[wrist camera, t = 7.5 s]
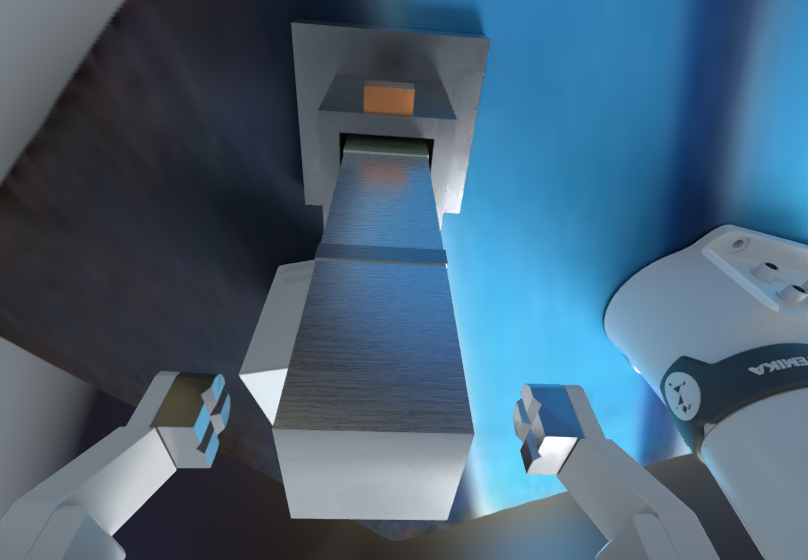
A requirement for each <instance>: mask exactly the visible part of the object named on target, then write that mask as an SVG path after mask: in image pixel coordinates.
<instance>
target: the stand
mask: <svg viewBox="0 0 808 560" xmlns="http://www.w3.org/2000/svg"><path fill="white" fill-rule="evenodd" d="M291 29H292V41H293V54H294V66H295V79H296V91H297V104H298V116H299V129H300V141H301V154H302V166H303V179H304V191H305V204H306V205H322V206H323V220H324V228H325V224H326V221H327V217H328V213H329V209H330V205H331V201H332V198H333V194H334V190H335V186H336V182H337V178H338V175H339V171H340V167H341V163H342V159H343V155H344V146H345V143H346V139H348V136H349V133H355V134H370V135H384V136H399V137H414V138H425V144H427V148H428V154H429V158H428V161H429V167H430V173H431V179H432V185H433V191H434V197H435V203H436V209H437V215H438V221H439V227H440V232H441V225H442V219H443V212H444V213H460V207H461V202H462V196H463V190H464V185H465V179H466V173H467V167H468V162H469V156H470V150H471V145H472V139H473V133H474V128H475V122H476V116H477V111H478V105H479V99H480V94H481V88H482V82H483V77H484V71H485V65H486V60H487V54H488V48H489V43H490V39H489V38H488V37H487V36H486V35H485V34H473V33H461V32H449V31H437V30H426V29H414V28H402V27H390V26H378V25H366V24H354V23H342V22H330V21H318V20H307V19H296V20H294V21H293V22H291Z"/></svg>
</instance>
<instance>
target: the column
mask: <svg viewBox="0 0 808 560" xmlns="http://www.w3.org/2000/svg"><path fill="white" fill-rule="evenodd" d="M428 158H429V154H428V148H427V144H425V138H414V137H399V136H384V135H370V134H355V133H349V136H348V139H346V143H345V146H344V155H343V159H342V163H341V167H340V171H339V175H338V178H337V182H336V186H335V190H334V194H333V198H332V201H331V205H330V209H329V213H328V217H327V221H326V224H325V228H324V232H323V236H322V240H321V243H319V244H318V247H317V251H316V255H315V267H314V270H313V274H312V278H311V282H310V286H309V290H308V294H307V297H306V301H305V305H304V309H303V313H302V317H301V320H300V324H299V328H298V332H297V336H296V340H295V343H294V347H293V351H292V355H291V359H290V363H289V366H288V370H287V374H286V378H285V382H284V386H283V389H282V393H281V397H280V401H279V405H278V409H277V413H276V416H275V420H274V424H273V428H272V431H273V435H274V440H275V445H276V449H277V454H278V459H279V463H280V468H281V473H282V477H283V482H284V486H285V491H286V496H287V500H288V505H289V509H290V514H291V518H318V519H397V520H447V519H448V515H449V512H450V509H451V506H452V503H453V500H454V497H455V494H456V490H457V487H458V484H459V481H460V478H461V475H462V472H463V468H464V465H465V462H466V459H467V456H468V453H469V450H470V447H471V443H472V440H473V437H474V429H473V423H472V417H471V411H470V405H469V399H468V393H467V387H466V381H465V375H464V369H463V363H462V357H461V351H460V346H459V340H458V334H457V328H456V322H455V316H454V310H453V304H452V298H451V292H450V286H449V280H448V274H447V266H448V262H447V257H446V251H445V250H443V245H442V239H441V233H440V227H439V221H438V215H437V209H436V203H435V197H434V191H433V185H432V179H431V173H430V167H429V161H428Z"/></svg>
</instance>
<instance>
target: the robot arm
mask: <svg viewBox="0 0 808 560" xmlns="http://www.w3.org/2000/svg"><path fill="white" fill-rule="evenodd" d="M604 327H605V331H606V334H607V336H608V338H609V339H610V341H611V342H612V343H613V344H614V345H615V346H616V347H617V348H618V349H619V350H621V351H622V353H623V354H624V355H625V356H626V357H627V358H628V360H629V363H630V365H631V366H632V367H633V369H634V370H635V371H636V372H637V373H640V374H642V376H643V377H644V378H645V380H646V381H647V382H648V383H649V385H650V386H651V387H652V389H653V390H654V391H655V392H656V394H657V395H658V396H659V398H660V399H661V400H662V401H663V403H664V404H665V405H666V407H667V408H668V411H669V413H670V416H671V419H672V421H673V423H674V424H675V426H676V428H677V429H678V431H679V432H680V434H681V436H682V437H683V439H684V442H685V443H686V445H687V447H688V448H689V449H690V450H691V451H692V453H693V454H694V455H695V457H696V458H697V459H698V460H699V461H700V462H701V463H703V464H705V465H707V466H708V468H709V470H710V471H711V473H712V474H713V476H714V478H715V479H716V481H717V482H718V484H719V486H720V487H721V489H722V491H723V492H724V494H725V495H726V497H727V499H728V500H729V502H730V503H731V505H732V507H733V508H734V510H735V512H736V513H737V515H738V516H739V518H740V520H741V521H742V523H743V525H744V526H745V528H746V529H747V531H748V532H749V534H750V536H751V538H752V539H753V541H754V542H755V544H756V546H757V547H758V549H759V551H760V552H761V554H762V555H763V557H764V558H765V560H808V245H806V244H802V243H798V242H794V241H791V240H787V239H783V238H780V237H776V236H772V235H768V234H765V233H761V232H757V231H754V230H750V229H746V228H742V227H739V226H735V225H723V226H720V227H718V228H716V229H714V230H713V231H711V232H710V233H708V234H707V235H705V236H704V237H702V238H701V239H700V240H698V241H697V242H695V243H694V244H693V245H691V246H689V247H687V248H685V249H683V250H681V251H678V252H676V253H673V254H671V255H668V256H666V257H664V258H661V259H659V260H657V261H655V262H654V263H652V264H650V265H648V266H647V267H645V268H643V269H642V270H641V271H639V272H638V273H636V274H635V275H634V276H633V277H631V278H630V279H629V280H628V281H627V282H626V283H625V284H624V285H623V286H622V287H621V288H620V289H619V290H618V292H617V293H616V294H615V295H614V297H613V298H612V300H611V302H610V304H609V306H608V308H607V311H606V314H605V319H604ZM224 384H225V381H224V378H223V375H222V374H206V373H188V372H167V371H161V372H160V373H159V374H157V375H156V376H155V377H154V379H153V381H152V383H151V384H150V386H149V388H148V390H147V391H146V393H145V395H144V396H143V398H142V400H141V402H140V403H139V405H138V407H137V409H136V410H135V412H134V414H133V415H132V417H131V419H130V421H129V422H128V424H127V426H126V427H119V428H118V429H116V430H115V431H114V432H112V433H111V434H110V435H108V436H106V437H105V438H104V439H102V440H101V441H100V442H98V443H97V444H95V445H94V446H93V447H91V448H90V449H88V450H87V451H86V452H84V453H83V454H81V455H80V456H79V457H77V458H76V459H74V460H73V461H72V462H70V463H69V464H68V465H66V466H65V467H64V468H62V469H61V470H59V471H58V472H56V473H55V474H54V475H52V476H51V477H50V478H48V479H47V480H45V481H44V482H42V483H41V484H40V485H38V486H37V487H35V488H34V489H33V490H31V491H30V492H28V493H27V494H26V495H24V496H23V497H21V498H20V499H19V500H17V501H16V502H14V504H13V505H12V507H11V508H10V510H9V511H8V512H7V514H6V515H5V517H4V518H3V520H2V521H1V522H0V560H124V558H125V556H126V555H125V552H124V550H123V548H122V547H121V546H120V545H119V544H118V543H117V542H116V541H115V539H114V538H113V537H112V535H113V534H114V533H115V532H116V531H117V530H118V529H119V528H120V527H121V526H122V525H123V524H124V523H125V522H126V521H127V520H128V519H129V518H130V517H131V516H132V515H133V514H134V513H135V512H136V511H137V510H138V509H139V508H140V507H141V506H142V505H143V504H144V503H145V502H146V501H147V499H148V498H149V497H150V496H151V495H152V494H153V493H154V492H155V491H156V490H157V489H158V488H159V487H160V486H161V485H162V484H163V483H164V482H165V481H166V480H167V479H168V478H169V477H170V476H171V475H172V474H173V473H174V472H175V471H176V468H210V467H211V465H212V462H213V460H214V457H215V454H216V451H217V449H218V446H219V441H218V438H217V434H219V433H220V432H221V431H222V430H223V429H224V428H225V427H226V424H227V421H228V418H229V412H230V397H229V394H228V392H226V391H225V390H224V389H223V386H224ZM521 395H522V399H520V400H519V401H517V402H516V405H515V408H514V418H513V419H514V427H515V431H516V435H517V436H518V437H519V438H520V440H521V441H522V442H523V446H522V448H521V450H520V451H521V455H522V459H523V463H524V466H525V470H526V474H536V475H557V478H558V479H559V480H560V481H561V483H562V484H563V485H564V486H565V488H566V489H567V490H568V491H569V493H570V494H571V495H572V496H573V497H574V499H575V500H576V501H577V502H578V503H579V505H580V506H581V507H582V508H583V510H584V511H585V512H586V513H587V515H588V516H589V517H590V518H591V520H592V521H593V522H594V523H595V524H596V526H597V527H598V528H599V529H600V531H601V532H602V533H603V534H604V536H605V537H606V538H607V539H608V541H609V542H608V543H607V544H606V545H605V546H604V547H603V548H602V549H601V550H600V551H599V553H598V554H597V556H596V557H595V560H720V559H719V557H718V555H717V553H716V551H715V550H714V548H713V546H712V544H711V542H710V540H709V539H708V537H707V535H706V533H705V531H704V529H703V527H702V526H701V524H700V522H699V520H698V518H697V516H696V515H695V513H694V512H693V511H692V510H691V509H690V508H688V507H687V506H686V505H685V504H684V503H683V502H682V501H680V500H679V499H678V498H677V497H676V496H675V495H674V494H672V493H671V492H670V491H669V490H668V489H667V488H666V487H665V486H663V485H662V484H661V483H660V482H659V481H658V480H656V479H655V478H654V477H653V476H652V475H651V474H650V473H649V472H648V471H646V470H645V469H644V468H643V467H642V466H641V465H640V464H638V463H637V462H636V461H635V460H634V459H633V458H632V457H630V456H629V455H628V454H627V453H626V452H625V451H624V450H623V449H621V448H620V447H619V446H618V445H617V444H616V443H615V442H613V441H612V440H611V439H605V436H604V434H603V432H602V430H601V427H600V425H599V423H598V421H597V418H596V416H595V414H594V412H593V410H592V407H591V405H590V403H589V401H588V398H587V396H586V394H585V392H584V390H583V388H582V387H581V386H579V385H560V384H525V385H524V386H523V387H522V390H521Z"/></svg>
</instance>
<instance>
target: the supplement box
mask: <svg viewBox="0 0 808 560" xmlns="http://www.w3.org/2000/svg"><path fill="white" fill-rule="evenodd" d="M314 267H315V260H310V261H304V262H297V263H290V264H285V265H281V266H279V267H278V269H277V272H276V275H275V278H274V280H273V283H272V286H271V288H270V291H269V294H268V297H267V299H266V302H265V305H264V308H263V310H262V313H261V316H260V319H259V321H258V324H257V327H256V330H255V332H254V335H253V338H252V341H251V343H250V346H249V349H248V351H247V354H246V357H245V360H244V362H243V365H242V368H241V370H240V373H239V376H240V378H241V379H242V381H243V382H244V383H245V385H246V386H247V388H248V389H249V391H250V392H251V394H252V395H253V397H254V398H255V400H256V401H257V403H258V404H259V406H260V407H261V409H262V410H263V412H264V413H265V415H266V416H267V418H268V419H269V421H270V422H271V424H272V425H273V424H274V420H275V416H276V413H277V409H278V405H279V401H280V397H281V393H282V389H283V386H284V382H285V378H286V374H287V370H288V366H289V363H290V359H291V355H292V351H293V347H294V343H295V340H296V336H297V332H298V328H299V324H300V320H301V317H302V313H303V309H304V305H305V301H306V297H307V294H308V290H309V286H310V282H311V278H312V274H313V270H314Z"/></svg>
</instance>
